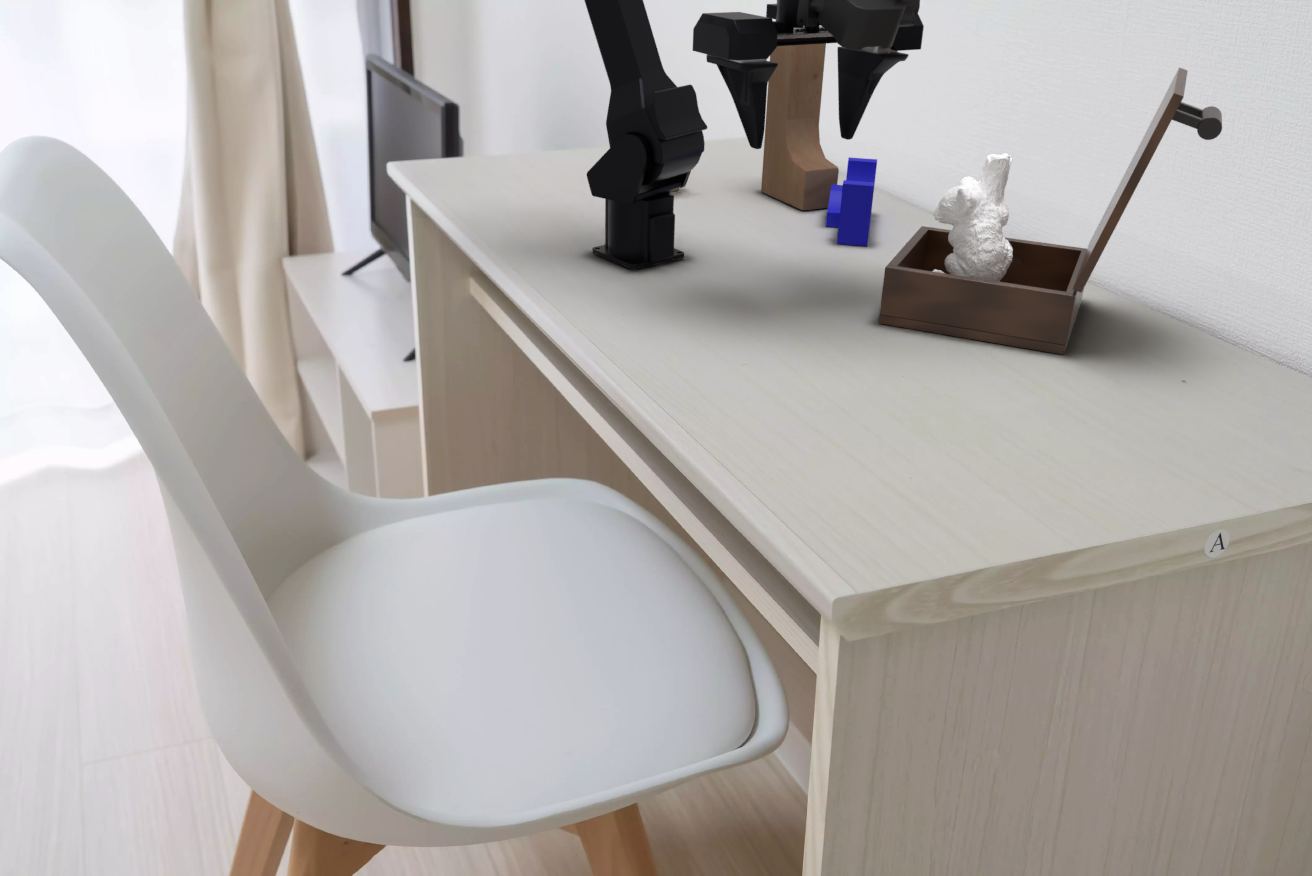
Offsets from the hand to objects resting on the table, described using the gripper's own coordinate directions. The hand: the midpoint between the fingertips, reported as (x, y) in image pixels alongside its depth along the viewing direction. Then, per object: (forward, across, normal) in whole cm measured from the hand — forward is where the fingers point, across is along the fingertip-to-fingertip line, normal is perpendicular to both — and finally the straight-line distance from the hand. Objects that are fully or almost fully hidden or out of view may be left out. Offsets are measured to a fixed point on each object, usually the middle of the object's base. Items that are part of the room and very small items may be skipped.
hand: (802, 143), depth 92 cm
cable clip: (+13, +18, +14) cm, 26 cm away
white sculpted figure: (+12, +12, -9) cm, 20 cm away
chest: (+13, +12, -11) cm, 21 cm away
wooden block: (+13, +20, +26) cm, 35 cm away
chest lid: (0, +17, -18) cm, 25 cm away
